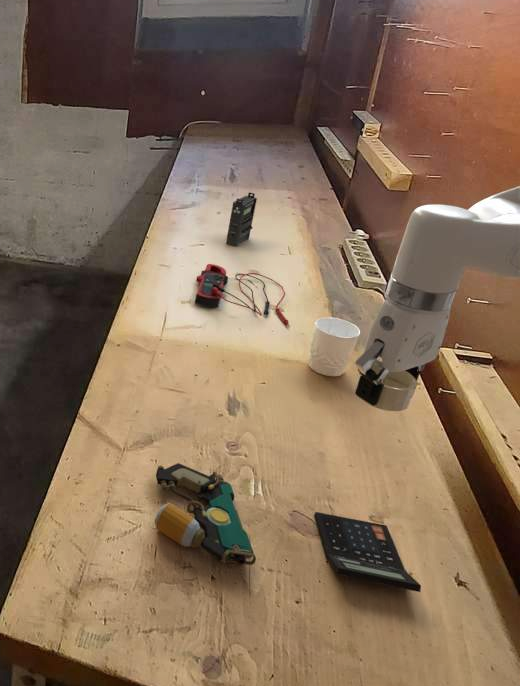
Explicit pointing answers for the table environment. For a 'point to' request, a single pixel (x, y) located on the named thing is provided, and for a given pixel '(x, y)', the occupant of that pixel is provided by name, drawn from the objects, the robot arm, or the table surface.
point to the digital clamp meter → (213, 288)
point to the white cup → (332, 345)
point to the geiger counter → (241, 219)
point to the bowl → (395, 390)
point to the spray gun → (204, 515)
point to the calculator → (363, 551)
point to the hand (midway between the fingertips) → (383, 392)
